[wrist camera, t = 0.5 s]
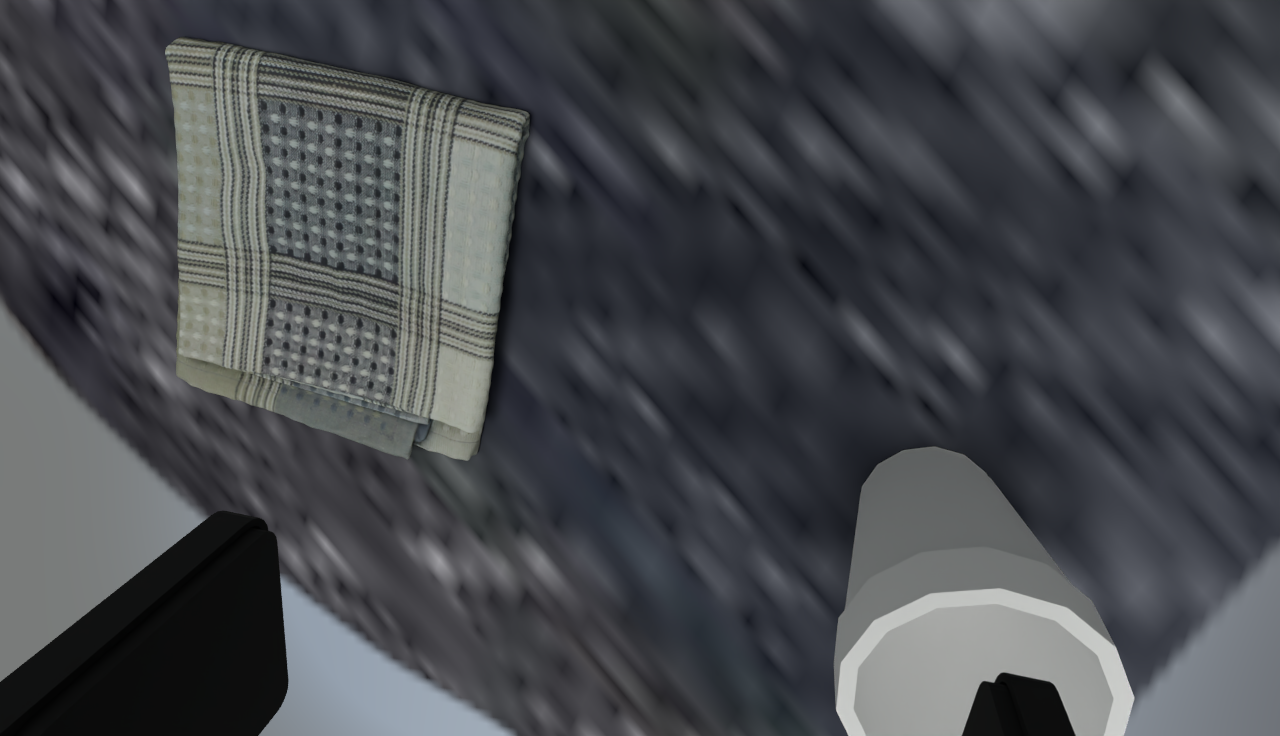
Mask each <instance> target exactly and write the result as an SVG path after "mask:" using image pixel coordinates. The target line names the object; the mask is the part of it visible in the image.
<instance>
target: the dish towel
mask: <svg viewBox="0 0 1280 736" xmlns="http://www.w3.org/2000/svg"><path fill="white" fill-rule="evenodd" d="M165 54H166V58H167V62H168V66H169V73H170V82H171V88H172V99H173V104H174V122H175V129H176V147H177V166H178V180H179V182H178V187H179V194H178V207H179V218H178V268H179V281H178V288H179V298H178V305H179V308H178V316H177V323H178V330H177V333H176V338H177V349H176V352H177V363H176V374H177V376H178V377H179V378H181V379H183V380H185V381H186V382H188V383H189V384H190V385H191V386H194V387H198V388H200V389H202V390H204V391H206V392H210V393H215V394H218V395H222V396H226V397H228V398H231V399H234V400H241V401H243V402H246V403H248V404H250V405H253V406H257V407H261V408H265V409H267V410H270V411H273V412H276V413H278V414H282V415H284V416H287V417H289V418H290V419H292V420H295V421H298V422H301V423H304V424H306V425H308V426H310V427H312V428H318V429H321V430H325V431H328V432H331V433H334V434H337V435H339V436H342V437H345V438H347V439H350V440H353V441H356V442H358V443H362V444H364V445H367V446H369V447H372V448H375V449H377V450H380V451H382V452H385V453H389V454H392V455H395V456H399V457H404V458H406V459H409V458H410V456H411V453H412V446H413V445H416V446H419V447H422V448H424V449H426V450H428V451H433V452H438V453H442V454H444V455H446V456H449V457H451V458H454V459H461V460H469V459H470V458H471V456H472V455H475V454H477V452H478V448H479V444H480V437H481V433H482V428H483V423H484V420H485V414H486V407H487V403H488V399H489V389H490V385H491V373H492V369H493V365H494V349H495V336H496V332H497V323H498V316H499V312H500V299H501V295H502V291H503V280H504V275H505V270H506V265H507V260H508V257H509V243H510V240H511V236H512V223H513V220H514V208H515V202H516V199H517V187H518V181H519V179H520V174H521V162H522V159H523V156H524V144H525V141H526V140H527V138H528V136H529V131H528V130H529V126H530V123H529V121H530V115H529V113H528V112H526V111H523V110H519V109H513V108H505V107H499V106H496V105H491V104H484V103H479V102H477V101H474V100H470V99H465V98H460V97H456V96H452V95H448V94H444V93H441V92H437V91H432V90H429V89H425V88H422V87H419V86H415V85H412V84H409V83H406V82H401V81H397V80H394V79H390V78H387V77H382V76H377V75H371V74H365V73H360V72H355V71H353V70H347V69H342V68H337V67H333V66H330V65H325V64H320V63H315V62H311V61H307V60H302V59H298V58H294V57H291V56H286V55H281V54H277V53H270V52H265V51H260V50H256V49H251V48H246V47H242V46H239V45H233V44H228V43H223V42H209V41H205V40H202V39H192V38H187V37H180V38H178V39H176V40H175V41H173V42H172V43H171V44H170V45H169V46H168V47H167V48H166V51H165Z"/></svg>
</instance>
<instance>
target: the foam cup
mask: <svg viewBox="0 0 1280 736" xmlns="http://www.w3.org/2000/svg"><path fill="white" fill-rule="evenodd" d="M1003 672H1005V673H1010V674H1015V675H1020V676H1025V677H1029V678H1034V679H1039V680H1044V681H1049V682H1051V683H1052V684H1054V685H1055V687H1056V689H1057V690H1058V692H1059V695H1060V697H1061V700H1062V702H1063V705H1064V707H1065V710H1066V712H1067V715H1068V717H1069V720H1070V723H1071V725H1072V728H1073V730H1074V733H1075V735H1076V736H1124V734H1125V730H1126V727H1127V723H1128V719H1129V716H1130V712H1131V709H1132V705H1133V701H1134V696H1133V693H1132V690H1131V687H1130V685H1129V682H1128V679H1127V676H1126V674H1125V671H1124V668H1123V666H1122V663H1121V660H1120V657H1119V655H1118V652H1117V649H1116V647H1115V645H1114V643H1113V641H1112V639H1111V637H1110V635H1109V633H1108V631H1107V629H1106V627H1105V625H1104V623H1103V622H1102V620H1101V618H1100V616H1099V614H1098V612H1097V610H1096V608H1095V606H1094V604H1093V602H1092V601H1091V600H1090V599H1089V598H1088V597H1086V596H1085V595H1084V594H1083V593H1082V592H1080V591H1079V590H1078V589H1077V588H1076V587H1074V586H1073V585H1072V584H1071V583H1070V581H1069V580H1068V579H1067V577H1066V576H1065V575H1064V573H1063V572H1062V571H1061V570H1060V568H1059V567H1058V566H1057V564H1056V563H1055V562H1054V560H1053V559H1052V558H1051V556H1050V555H1049V554H1048V553H1047V551H1046V550H1045V549H1044V547H1043V546H1042V545H1041V543H1040V542H1039V541H1038V539H1037V538H1036V537H1035V535H1034V534H1033V533H1032V532H1031V530H1030V529H1029V528H1028V526H1027V525H1026V524H1025V522H1024V521H1023V520H1022V518H1021V517H1020V516H1019V515H1018V513H1017V512H1016V511H1015V509H1014V508H1013V507H1012V505H1011V504H1010V503H1009V501H1008V500H1007V499H1006V498H1005V496H1004V495H1003V494H1002V492H1001V491H1000V490H999V488H998V487H997V486H996V484H995V483H994V482H993V480H992V479H991V478H990V477H988V476H987V473H986V472H985V471H983V470H982V469H981V468H980V467H979V466H977V465H976V464H975V463H974V462H973V461H971V460H970V459H969V458H968V457H967V456H965V455H964V454H960V453H957V452H953V451H949V450H946V449H942V448H939V447H935V446H933V447H925V448H916V449H908V450H902V451H901V452H899V453H897V454H895V455H893V456H892V457H890V458H888V459H886V460H885V461H883V462H881V463H879V464H877V466H876V467H875V469H874V470H873V471H872V473H871V474H870V476H869V477H868V479H867V480H866V481H865V483H864V484H863V486H862V490H861V494H860V502H859V509H858V516H857V524H856V531H855V539H854V546H853V554H852V561H851V569H850V576H849V583H848V591H847V598H846V606H845V610H844V612H843V613H842V614H841V616H840V617H839V618H838V627H837V637H836V647H835V657H834V677H835V699H836V711H837V713H838V715H839V717H840V719H841V721H842V723H843V725H844V727H845V729H846V731H847V733H848V735H849V736H962V733H963V731H964V728H965V725H966V722H967V719H968V716H969V713H970V710H971V707H972V704H973V702H974V699H975V696H976V693H977V690H978V688H979V685H980V684H981V683H982V682H983V681H988V682H993V683H994V682H995V680H996V678H997V676H998V675H999V674H1000V673H1003Z"/></svg>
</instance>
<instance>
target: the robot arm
mask: <svg viewBox="0 0 1280 736" xmlns="http://www.w3.org/2000/svg"><path fill="white" fill-rule="evenodd" d="M287 689H288V670H287V658H286V645H285V634H284V620H283V608H282V596H281V583H280V571H279V559H278V546H277V539H276V536H275V534H274V533H273V532H270V531H268V526H267V524H266V523H265V521H264V520H262V519H260V518H257V517H252V516H247V515H242V514H237V513H233V512H228V511H218V512H216V513H214V514H213V515H211V516H210V517H209V518H207V519H206V520H205V521H204V522H202V523H201V524H200V525H198V526H197V527H196V528H195V529H193V530H192V531H191V532H190V533H189V534H187V535H186V536H185V537H183V538H182V539H181V540H179V541H178V542H177V543H176V544H174V545H173V546H172V547H171V548H169V549H168V550H167V551H166V552H164V553H163V554H162V555H160V556H159V557H158V558H157V559H155V560H154V561H153V562H152V563H150V564H149V565H148V566H147V567H145V568H144V569H143V570H142V571H140V572H139V573H138V574H136V575H135V576H134V577H133V578H132V579H130V580H129V581H128V582H127V583H125V584H124V585H122V586H121V587H120V588H119V589H117V590H116V591H115V592H114V593H112V594H111V595H110V596H109V597H107V598H106V599H105V600H103V601H102V602H101V603H100V604H98V605H97V606H96V607H95V608H93V609H92V610H91V611H90V612H88V613H87V614H86V615H85V616H83V617H82V618H81V619H80V620H78V621H77V622H76V623H74V624H73V625H72V626H71V627H69V628H68V629H67V630H66V631H64V632H63V633H62V634H60V635H59V636H58V637H57V638H55V639H54V640H53V641H52V642H50V643H49V644H48V645H46V646H45V647H44V648H43V649H42V650H40V651H39V652H38V653H36V654H35V655H34V656H33V657H31V658H30V659H29V660H27V661H26V662H25V663H24V664H22V665H21V666H20V667H19V668H17V669H16V670H15V671H14V672H13V673H11V674H10V675H9V676H7V677H6V678H5V679H3V680H2V681H1V682H0V736H258V735H259V734H260V733H261V732H262V730H263V729H264V728H265V727H266V725H267V724H268V723H269V721H270V720H271V719H272V718H273V716H274V715H275V714H276V713H277V711H278V710H279V708H280V707H281V705H282V703H283V701H284V699H285V696H286V693H287ZM962 736H1076V735H1075V733H1074V730H1073V728H1072V725H1071V723H1070V720H1069V717H1068V715H1067V712H1066V710H1065V707H1064V705H1063V702H1062V700H1061V697H1060V695H1059V692H1058V690H1057V689H1056V687H1055V685H1054V684H1052V683H1051V682H1049V681H1044V680H1039V679H1034V678H1029V677H1025V676H1020V675H1015V674H1010V673H1005V672H1003V673H1000V674H999V675H998V676H997V678H996V680H995V682H994V683H993V682H988V681H983V682H982V683H981V684H980V685H979V688H978V690H977V693H976V696H975V699H974V702H973V704H972V707H971V710H970V713H969V716H968V719H967V722H966V725H965V728H964V731H963V733H962Z"/></svg>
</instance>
